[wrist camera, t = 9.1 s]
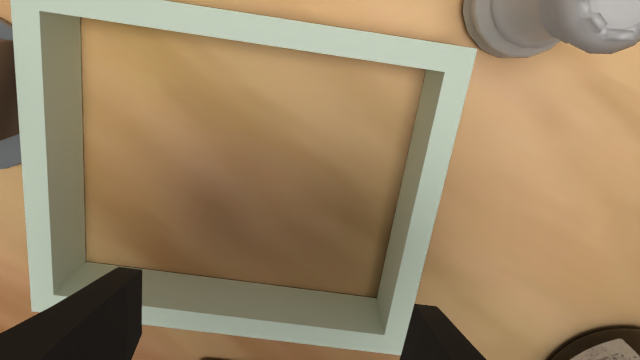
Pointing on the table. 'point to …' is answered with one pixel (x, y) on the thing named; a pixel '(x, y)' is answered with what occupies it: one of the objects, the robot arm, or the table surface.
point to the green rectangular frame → (206, 292)
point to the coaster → (9, 149)
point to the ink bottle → (604, 346)
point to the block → (8, 91)
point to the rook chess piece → (552, 25)
